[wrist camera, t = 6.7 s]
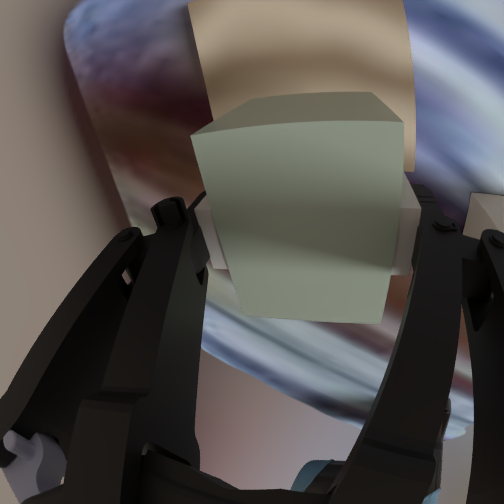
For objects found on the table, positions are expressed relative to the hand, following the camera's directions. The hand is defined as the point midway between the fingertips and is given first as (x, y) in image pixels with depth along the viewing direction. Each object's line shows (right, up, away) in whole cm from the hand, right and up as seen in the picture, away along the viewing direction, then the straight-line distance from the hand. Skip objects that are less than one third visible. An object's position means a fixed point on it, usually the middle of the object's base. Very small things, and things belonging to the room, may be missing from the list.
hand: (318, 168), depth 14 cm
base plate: (0, +8, +2) cm, 8 cm away
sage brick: (0, 0, 0) cm, 0 cm away
